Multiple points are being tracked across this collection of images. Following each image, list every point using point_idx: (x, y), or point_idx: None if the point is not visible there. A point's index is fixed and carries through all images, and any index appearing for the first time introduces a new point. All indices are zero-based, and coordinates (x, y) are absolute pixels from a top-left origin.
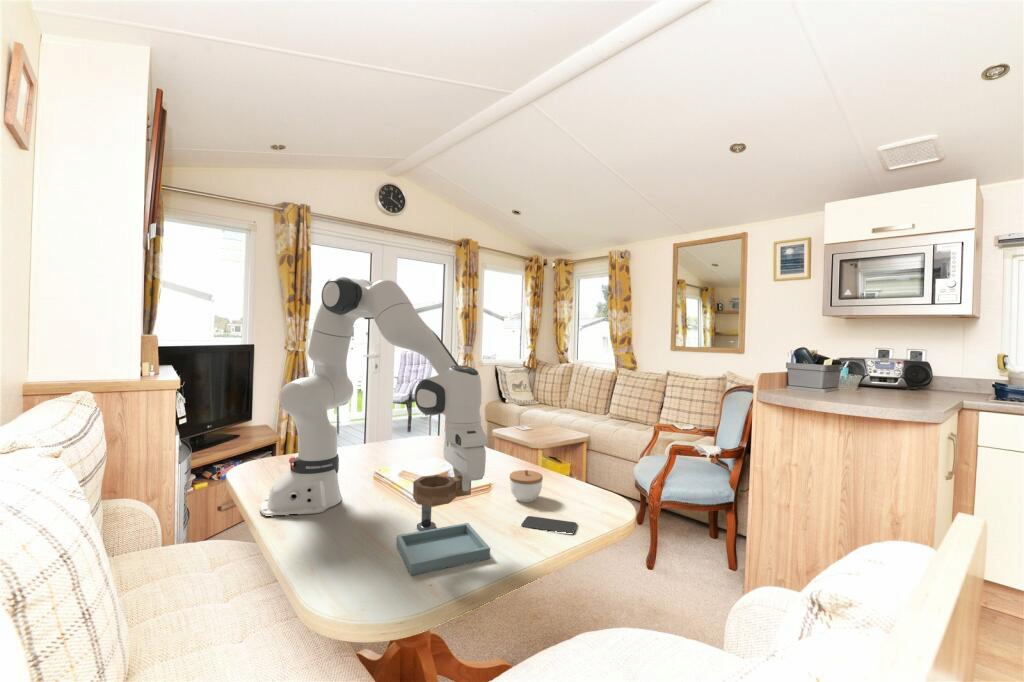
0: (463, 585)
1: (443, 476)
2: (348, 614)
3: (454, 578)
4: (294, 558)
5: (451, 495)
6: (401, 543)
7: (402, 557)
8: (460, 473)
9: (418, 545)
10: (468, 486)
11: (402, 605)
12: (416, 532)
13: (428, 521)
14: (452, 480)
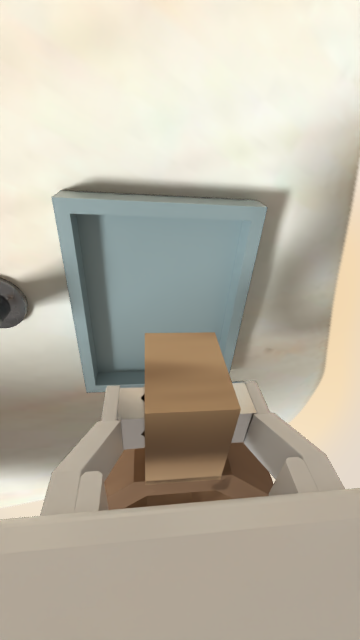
0: (310, 302)
1: (115, 503)
2: None
3: (277, 310)
4: None
5: None
6: None
7: None
8: (107, 447)
9: (118, 345)
10: (260, 399)
11: (289, 390)
12: (83, 356)
13: (2, 312)
14: (205, 483)
